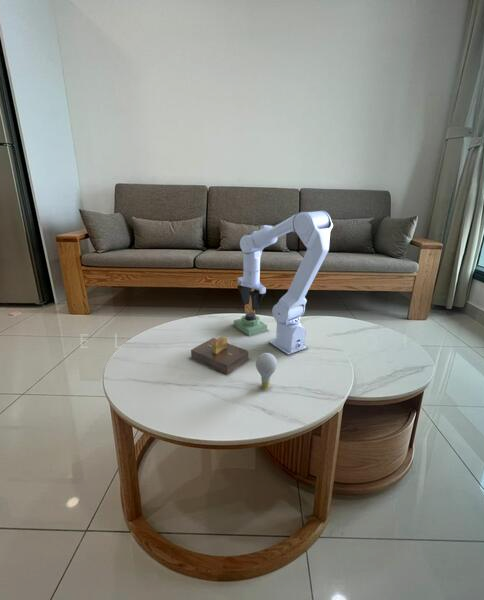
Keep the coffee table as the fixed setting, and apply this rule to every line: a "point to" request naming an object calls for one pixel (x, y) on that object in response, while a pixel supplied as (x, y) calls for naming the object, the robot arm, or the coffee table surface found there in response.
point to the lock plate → (220, 356)
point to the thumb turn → (219, 344)
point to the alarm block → (250, 325)
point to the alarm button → (250, 316)
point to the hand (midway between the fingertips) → (250, 306)
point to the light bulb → (266, 367)
